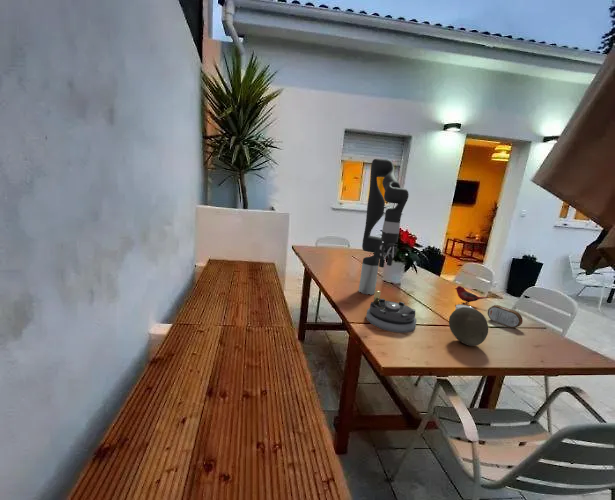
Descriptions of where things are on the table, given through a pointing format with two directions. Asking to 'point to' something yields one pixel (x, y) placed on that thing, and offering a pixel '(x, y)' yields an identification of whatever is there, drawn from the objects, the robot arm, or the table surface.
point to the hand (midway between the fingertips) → (385, 266)
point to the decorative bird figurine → (467, 295)
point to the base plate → (390, 324)
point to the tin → (505, 316)
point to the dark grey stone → (468, 326)
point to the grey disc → (391, 311)
